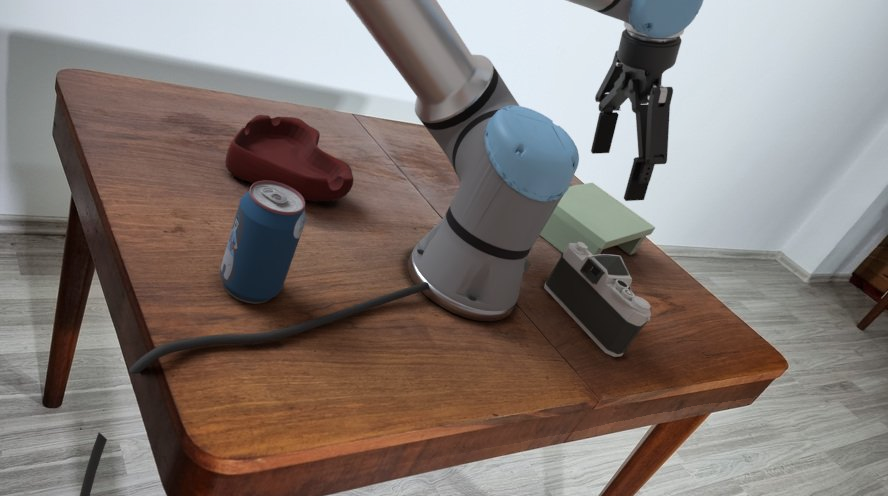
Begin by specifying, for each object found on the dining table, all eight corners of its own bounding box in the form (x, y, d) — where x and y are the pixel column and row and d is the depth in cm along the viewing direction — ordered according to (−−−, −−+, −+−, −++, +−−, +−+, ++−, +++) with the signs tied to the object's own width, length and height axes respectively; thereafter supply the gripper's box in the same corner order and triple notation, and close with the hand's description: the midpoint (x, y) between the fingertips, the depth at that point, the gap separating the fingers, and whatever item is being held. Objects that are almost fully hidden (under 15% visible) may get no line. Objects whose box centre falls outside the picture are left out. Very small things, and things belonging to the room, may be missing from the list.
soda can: (291, 293, 80) (324, 205, 73) (251, 316, 74) (282, 222, 68) (246, 260, 82) (273, 171, 75) (203, 280, 76) (229, 185, 70)
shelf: (586, 272, 111) (606, 242, 108) (522, 221, 118) (539, 191, 115) (636, 255, 124) (655, 227, 121) (575, 209, 131) (592, 182, 127)
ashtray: (198, 139, 100) (205, 107, 97) (297, 145, 110) (306, 116, 107) (249, 213, 90) (259, 179, 87) (353, 211, 100) (365, 181, 97)
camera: (647, 354, 98) (689, 299, 92) (607, 360, 93) (649, 303, 87) (574, 281, 108) (609, 227, 102) (535, 283, 103) (569, 227, 97)
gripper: (726, 69, 83) (676, 220, 96) (642, 0, 102) (609, 134, 116) (665, 71, 82) (623, 223, 96) (592, 1, 101) (565, 136, 115)
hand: (615, 174), depth 106 cm, fingers open, 13 cm apart
